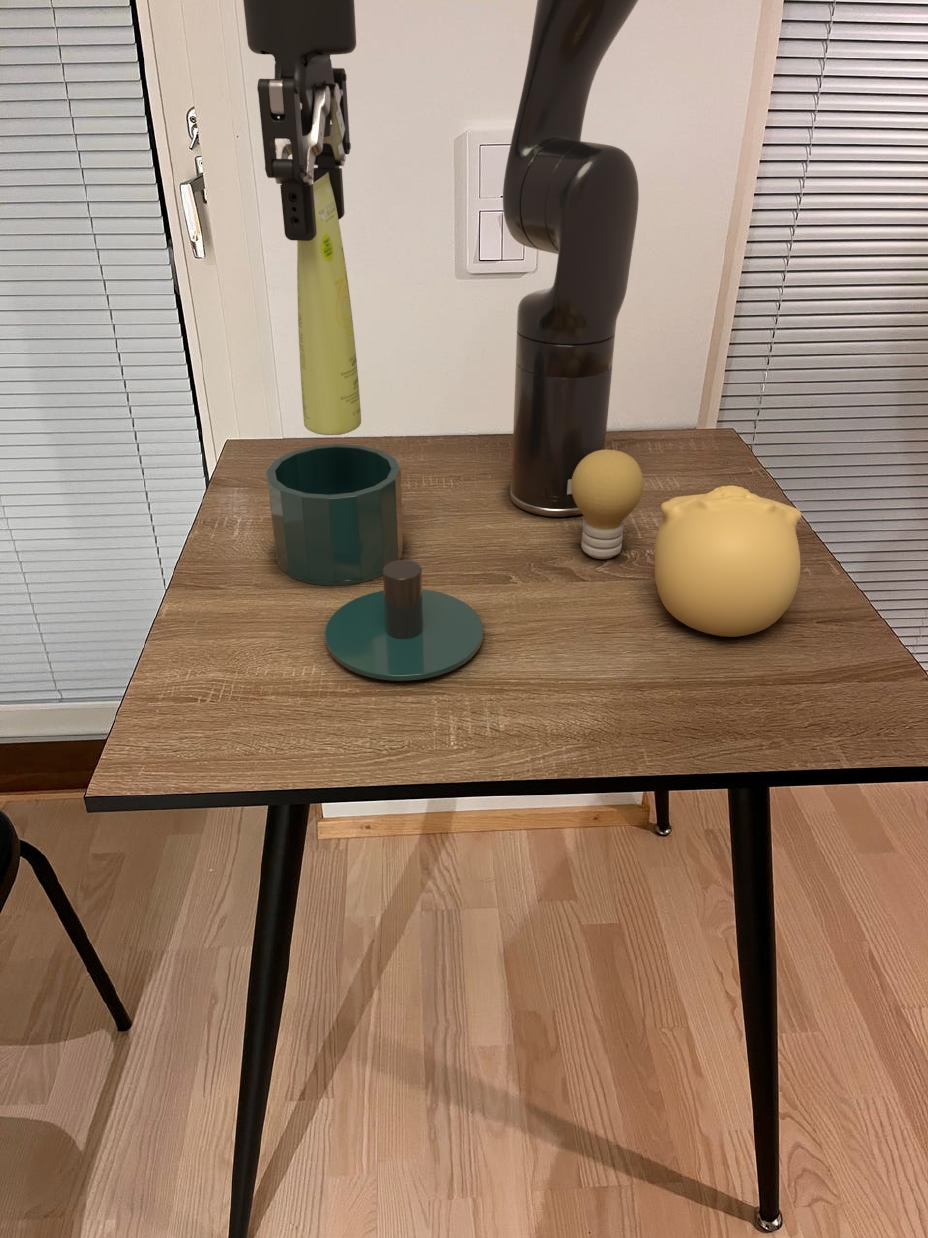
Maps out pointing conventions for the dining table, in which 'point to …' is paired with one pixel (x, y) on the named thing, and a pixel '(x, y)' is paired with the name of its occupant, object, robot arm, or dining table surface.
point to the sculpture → (727, 560)
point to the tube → (326, 325)
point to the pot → (336, 513)
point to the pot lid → (403, 629)
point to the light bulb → (606, 499)
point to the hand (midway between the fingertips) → (316, 228)
